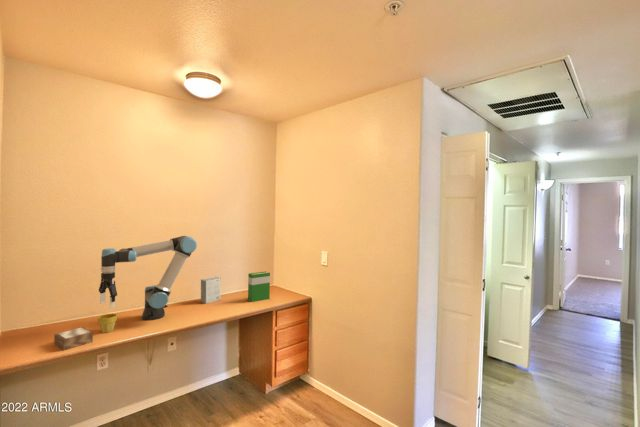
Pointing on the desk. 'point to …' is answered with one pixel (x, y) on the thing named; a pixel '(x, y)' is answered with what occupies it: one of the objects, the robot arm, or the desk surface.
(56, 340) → the pedestal block
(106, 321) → the plant pot
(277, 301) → the desk surface
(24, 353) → the desk surface
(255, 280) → the hardback book
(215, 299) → the hard drive box
